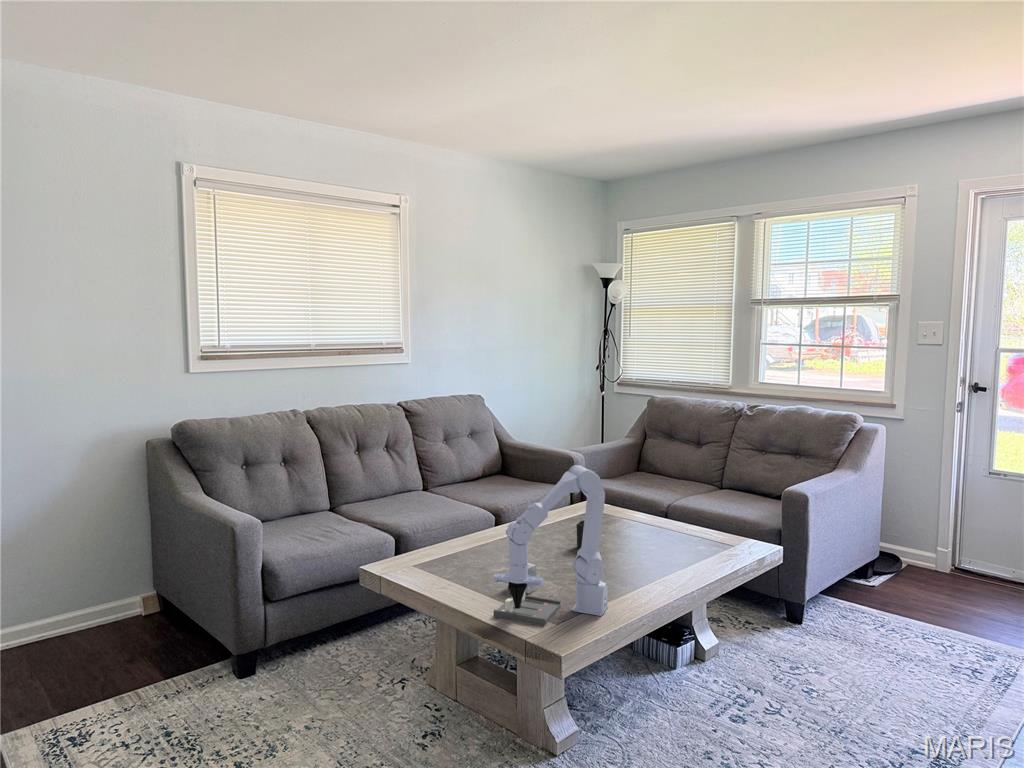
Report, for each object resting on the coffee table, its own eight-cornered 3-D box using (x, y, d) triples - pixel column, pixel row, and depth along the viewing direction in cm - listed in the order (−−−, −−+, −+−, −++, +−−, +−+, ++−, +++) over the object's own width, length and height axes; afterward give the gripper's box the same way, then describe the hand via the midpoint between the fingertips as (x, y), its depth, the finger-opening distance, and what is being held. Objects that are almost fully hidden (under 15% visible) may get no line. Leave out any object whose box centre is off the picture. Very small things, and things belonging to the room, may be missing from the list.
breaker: (525, 598, 216) (525, 587, 216) (522, 601, 214) (522, 590, 213) (520, 597, 216) (520, 586, 216) (517, 600, 214) (517, 589, 214)
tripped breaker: (513, 610, 207) (513, 599, 206) (509, 613, 204) (510, 601, 204) (508, 609, 207) (508, 598, 207) (504, 612, 205) (505, 601, 205)
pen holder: (604, 550, 268) (605, 525, 267) (583, 553, 264) (583, 527, 264) (593, 543, 277) (593, 519, 276) (572, 546, 273) (572, 521, 272)
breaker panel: (560, 607, 213) (560, 600, 213) (544, 626, 199) (544, 619, 199) (512, 598, 219) (512, 592, 219) (493, 617, 205) (493, 610, 205)
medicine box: (536, 590, 226) (536, 564, 226) (527, 594, 223) (527, 568, 222) (518, 584, 232) (518, 559, 231) (509, 588, 228) (509, 562, 228)
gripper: (544, 560, 206) (544, 604, 207) (497, 556, 209) (497, 599, 210) (540, 568, 199) (540, 613, 200) (491, 564, 202) (491, 609, 203)
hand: (517, 607), depth 205 cm, fingers closed
